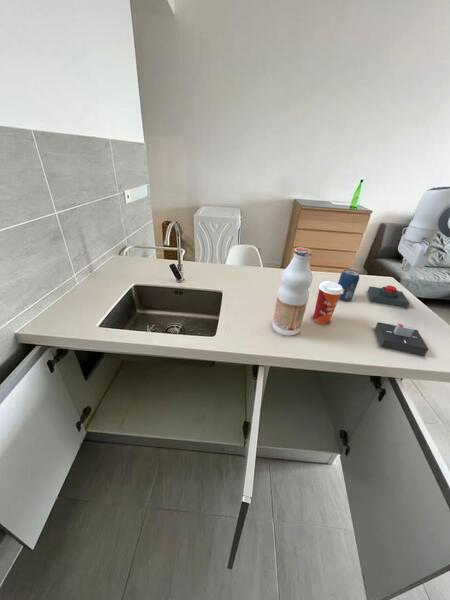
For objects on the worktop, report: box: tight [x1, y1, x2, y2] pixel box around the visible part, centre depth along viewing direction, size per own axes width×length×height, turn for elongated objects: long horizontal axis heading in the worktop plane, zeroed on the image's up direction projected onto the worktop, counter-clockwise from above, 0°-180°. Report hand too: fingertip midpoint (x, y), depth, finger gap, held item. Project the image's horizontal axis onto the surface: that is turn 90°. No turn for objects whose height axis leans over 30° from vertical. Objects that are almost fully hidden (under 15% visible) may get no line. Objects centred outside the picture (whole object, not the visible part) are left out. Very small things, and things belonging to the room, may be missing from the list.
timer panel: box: [374, 321, 429, 357], centre depth 79 cm, size 12×10×3 cm
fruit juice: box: [272, 246, 314, 336], centre depth 76 cm, size 9×9×28 cm
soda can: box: [337, 268, 360, 302], centre depth 100 cm, size 7×7×12 cm
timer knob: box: [393, 323, 416, 337], centre depth 77 cm, size 4×2×3 cm, turn 72°
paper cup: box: [313, 280, 343, 325], centre depth 85 cm, size 8×8×14 cm
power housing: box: [367, 285, 410, 309], centre depth 103 cm, size 13×10×4 cm
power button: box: [385, 285, 397, 293], centre depth 101 cm, size 4×4×2 cm
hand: (404, 270), depth 95 cm, fingers closed
